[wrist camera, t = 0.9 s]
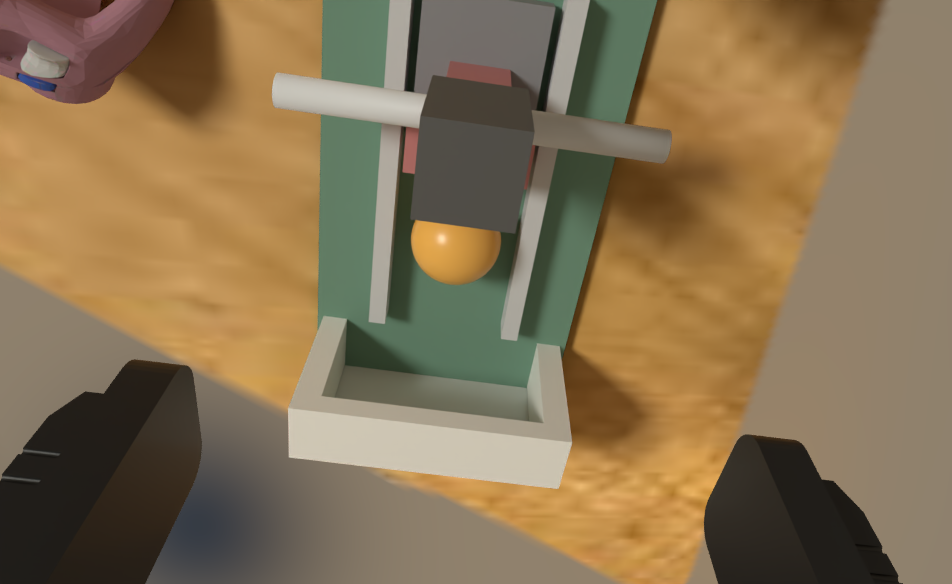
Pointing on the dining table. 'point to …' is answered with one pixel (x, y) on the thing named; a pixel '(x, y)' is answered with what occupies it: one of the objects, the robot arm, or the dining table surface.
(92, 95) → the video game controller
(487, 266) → the ball
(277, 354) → the dining table surface
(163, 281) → the dining table surface
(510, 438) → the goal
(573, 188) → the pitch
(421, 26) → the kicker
